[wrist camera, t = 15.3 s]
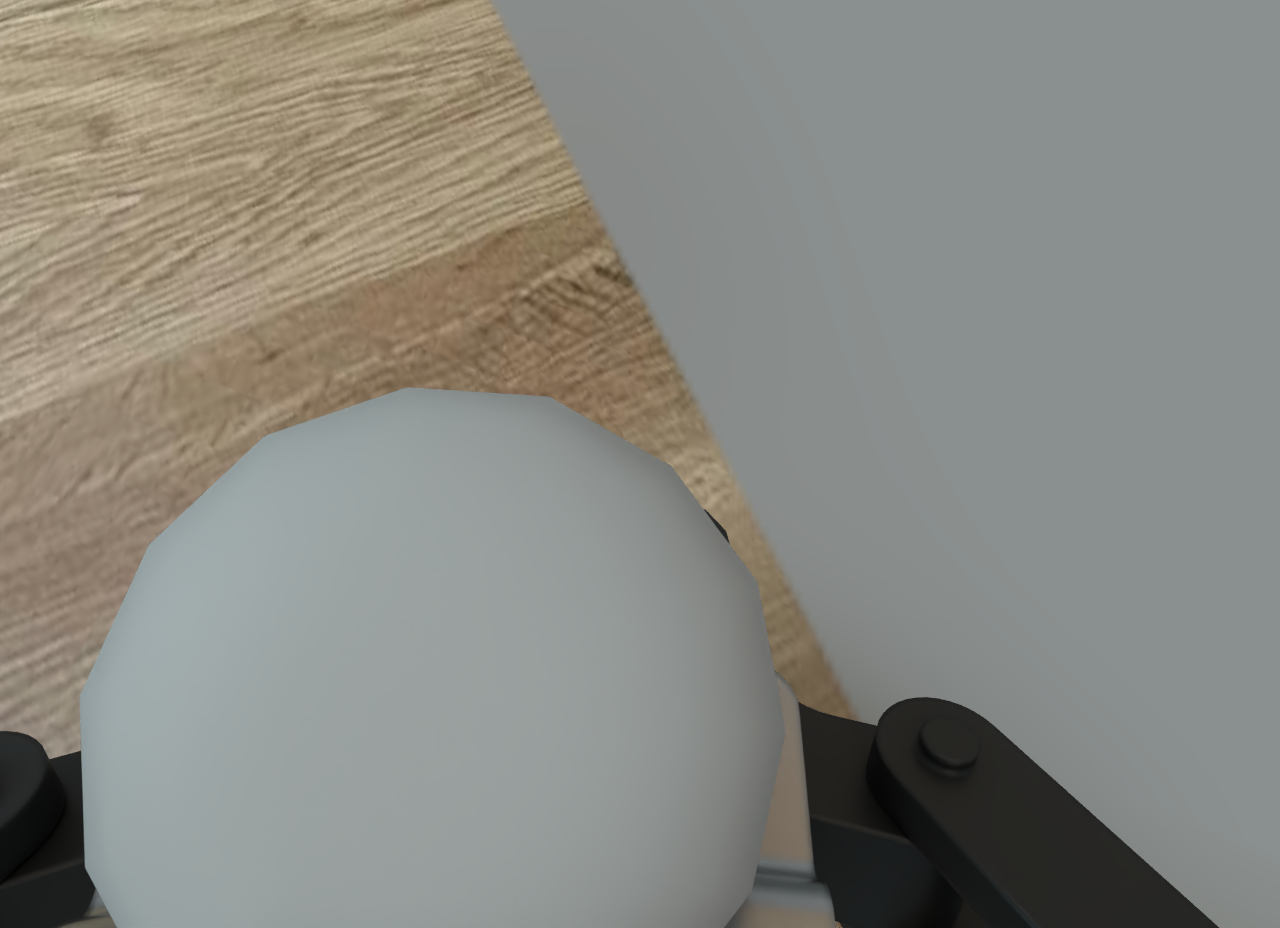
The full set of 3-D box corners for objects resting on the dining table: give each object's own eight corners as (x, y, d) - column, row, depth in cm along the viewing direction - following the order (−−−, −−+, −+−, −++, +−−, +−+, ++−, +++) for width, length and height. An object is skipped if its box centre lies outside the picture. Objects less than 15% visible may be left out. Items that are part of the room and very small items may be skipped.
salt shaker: (380, 555, 17) (-150, 273, 5) (645, 513, 18) (825, 168, 5) (410, 849, 16) (-210, 1587, 3) (694, 791, 17) (1087, 1222, 4)
